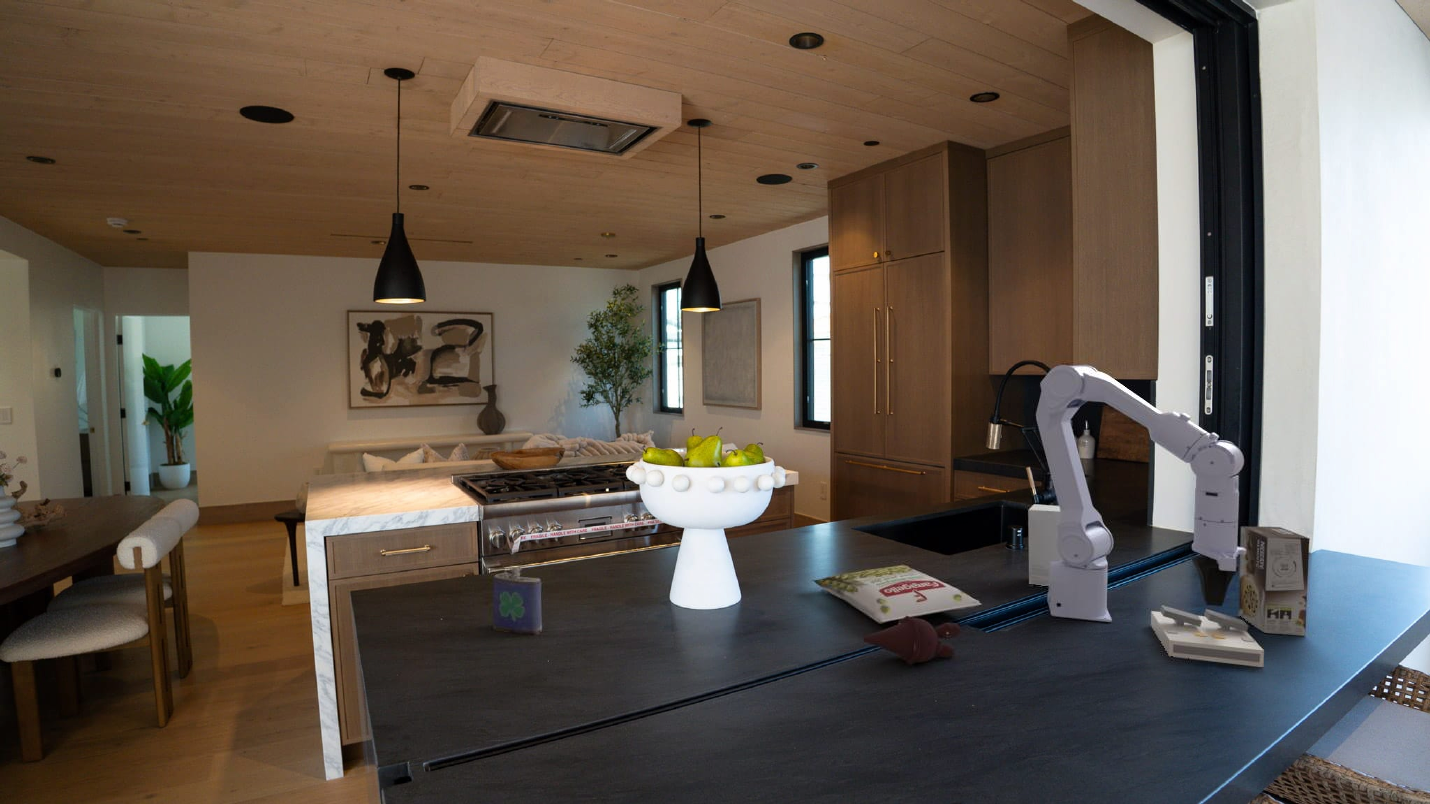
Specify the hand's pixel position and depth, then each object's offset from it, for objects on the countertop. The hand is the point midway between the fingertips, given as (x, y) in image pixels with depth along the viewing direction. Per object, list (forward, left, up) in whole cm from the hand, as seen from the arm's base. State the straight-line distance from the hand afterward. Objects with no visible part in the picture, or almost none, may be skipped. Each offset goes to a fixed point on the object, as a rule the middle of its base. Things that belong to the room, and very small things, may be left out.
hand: (1213, 604), depth 118 cm
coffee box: (+12, +13, -7) cm, 19 cm away
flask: (-107, -32, -7) cm, 112 cm away
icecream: (-44, -23, -7) cm, 50 cm away
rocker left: (-5, 0, -3) cm, 6 cm away
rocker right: (+2, 0, -3) cm, 4 cm away
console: (-1, -1, -6) cm, 7 cm away
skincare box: (-21, +26, -7) cm, 34 cm away
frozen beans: (-50, +2, -7) cm, 50 cm away
